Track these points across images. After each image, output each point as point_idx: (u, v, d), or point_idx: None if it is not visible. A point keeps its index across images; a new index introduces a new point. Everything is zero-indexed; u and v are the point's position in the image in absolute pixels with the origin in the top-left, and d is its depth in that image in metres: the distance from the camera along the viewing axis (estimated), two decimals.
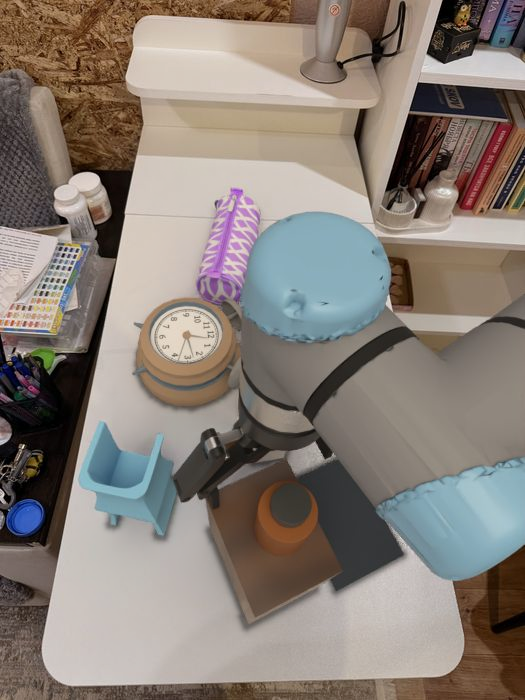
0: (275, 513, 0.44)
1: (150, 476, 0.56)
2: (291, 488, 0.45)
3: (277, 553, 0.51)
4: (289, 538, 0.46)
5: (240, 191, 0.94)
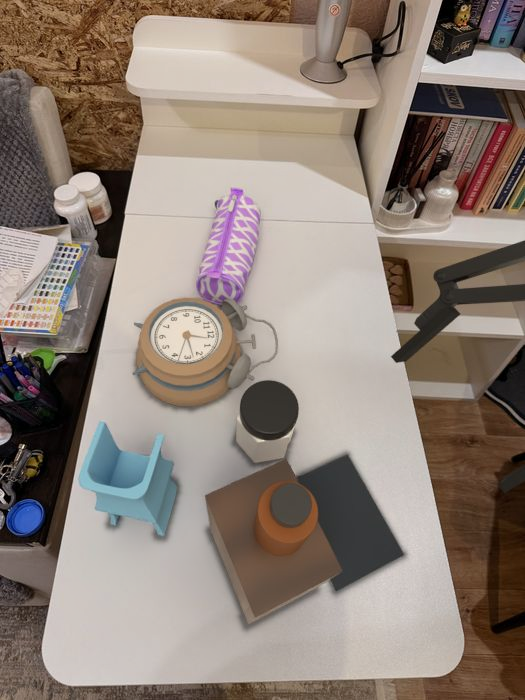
0: (275, 513, 0.44)
1: (150, 476, 0.56)
2: (291, 488, 0.45)
3: (277, 553, 0.51)
4: (289, 538, 0.46)
5: (240, 191, 0.94)
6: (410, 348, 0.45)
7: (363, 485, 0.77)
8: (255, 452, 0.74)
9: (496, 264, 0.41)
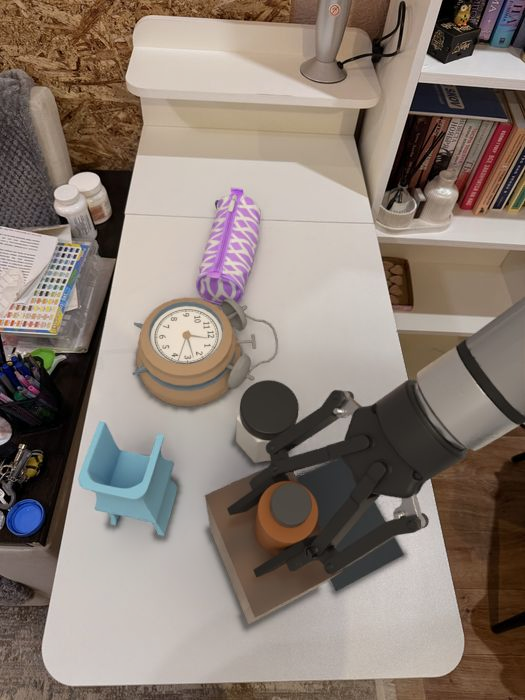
0: (275, 513, 0.44)
1: (150, 476, 0.56)
2: (291, 488, 0.45)
3: (277, 553, 0.51)
4: (289, 538, 0.46)
5: (240, 191, 0.94)
6: (241, 505, 0.51)
7: None
8: (255, 452, 0.74)
9: (306, 430, 0.47)
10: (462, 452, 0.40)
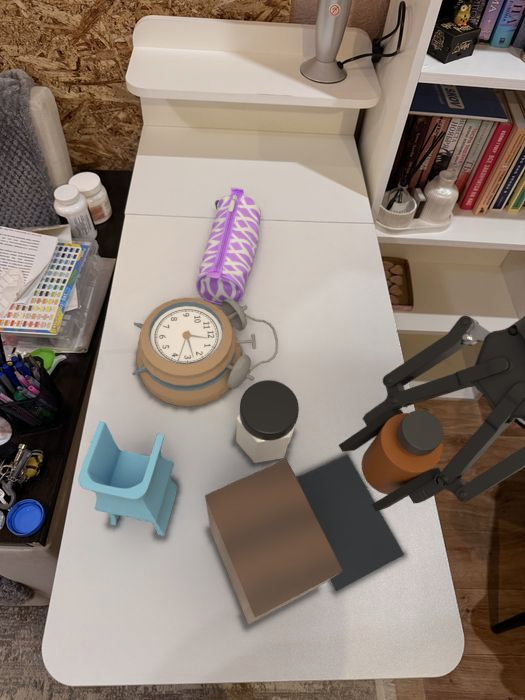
0: (408, 439, 0.43)
1: (150, 476, 0.56)
2: (420, 415, 0.44)
3: (390, 490, 0.50)
4: (416, 468, 0.45)
5: (241, 191, 0.94)
6: (355, 441, 0.49)
7: (363, 485, 0.77)
8: (255, 452, 0.74)
9: (430, 359, 0.46)
10: None
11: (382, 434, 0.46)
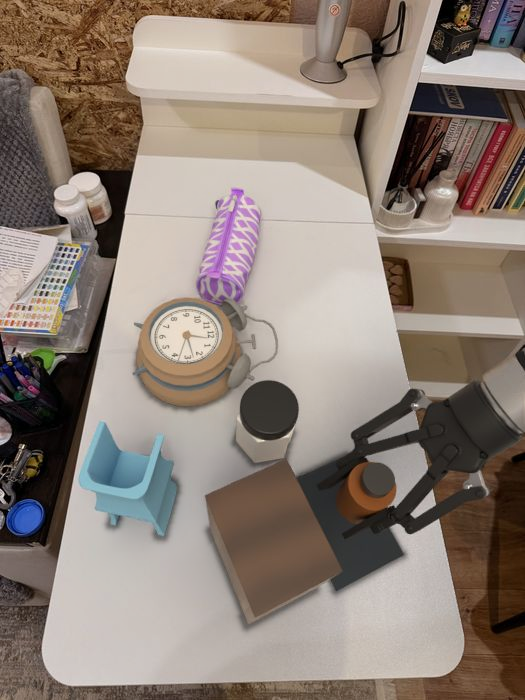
0: (367, 486, 0.56)
1: (150, 476, 0.56)
2: (377, 466, 0.57)
3: (358, 521, 0.63)
4: (375, 506, 0.58)
5: (241, 191, 0.94)
6: (329, 482, 0.62)
7: None
8: (255, 452, 0.74)
9: (387, 421, 0.59)
10: (519, 436, 0.51)
11: (349, 479, 0.59)
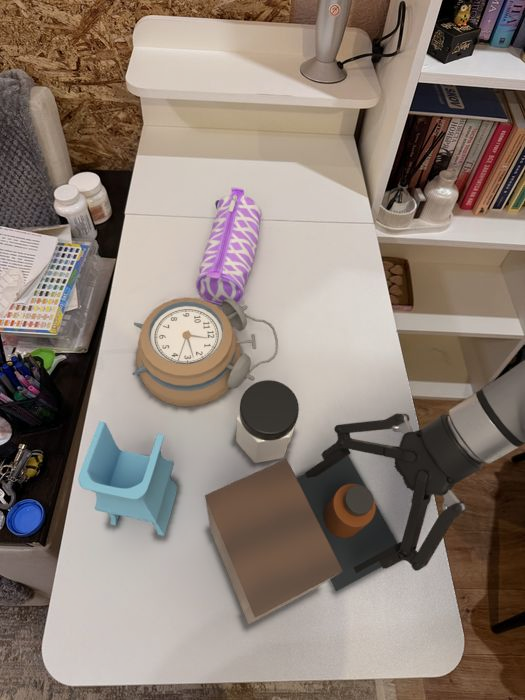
0: (349, 506, 0.64)
1: (150, 476, 0.56)
2: (358, 489, 0.65)
3: (343, 535, 0.71)
4: (356, 523, 0.66)
5: (241, 191, 0.94)
6: (316, 470, 0.71)
7: (363, 485, 0.77)
8: (255, 452, 0.74)
9: (368, 430, 0.67)
10: (480, 464, 0.59)
11: (334, 499, 0.67)
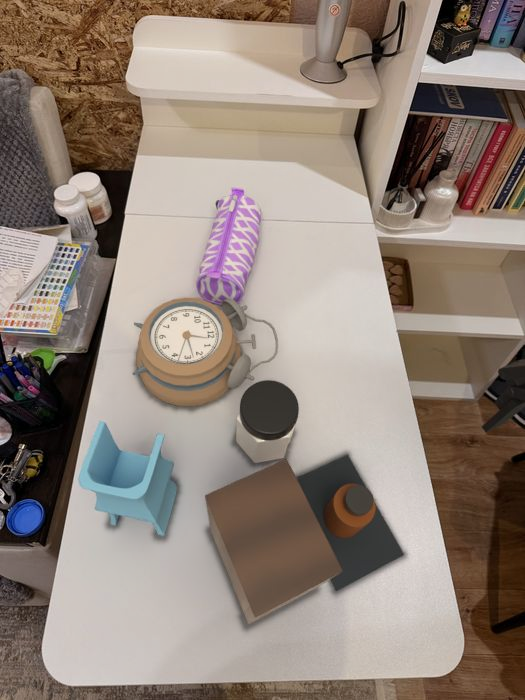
0: (349, 506, 0.64)
1: (150, 476, 0.56)
2: (358, 489, 0.65)
3: (343, 535, 0.71)
4: (356, 523, 0.66)
5: (241, 191, 0.94)
6: (492, 424, 0.54)
7: (363, 485, 0.77)
8: (255, 452, 0.74)
9: None
10: None
11: (334, 499, 0.67)
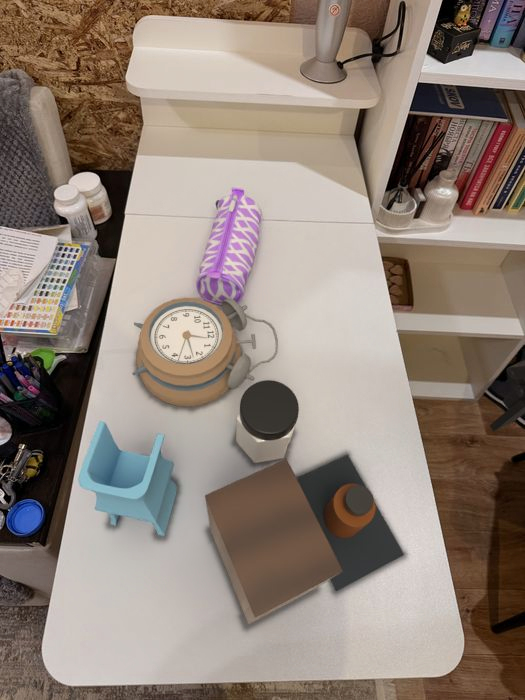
0: (349, 506, 0.64)
1: (150, 476, 0.56)
2: (358, 489, 0.65)
3: (343, 535, 0.71)
4: (356, 523, 0.66)
5: (241, 191, 0.94)
6: (501, 424, 0.52)
7: (363, 485, 0.77)
8: (255, 452, 0.74)
9: None
10: None
11: (334, 499, 0.67)
